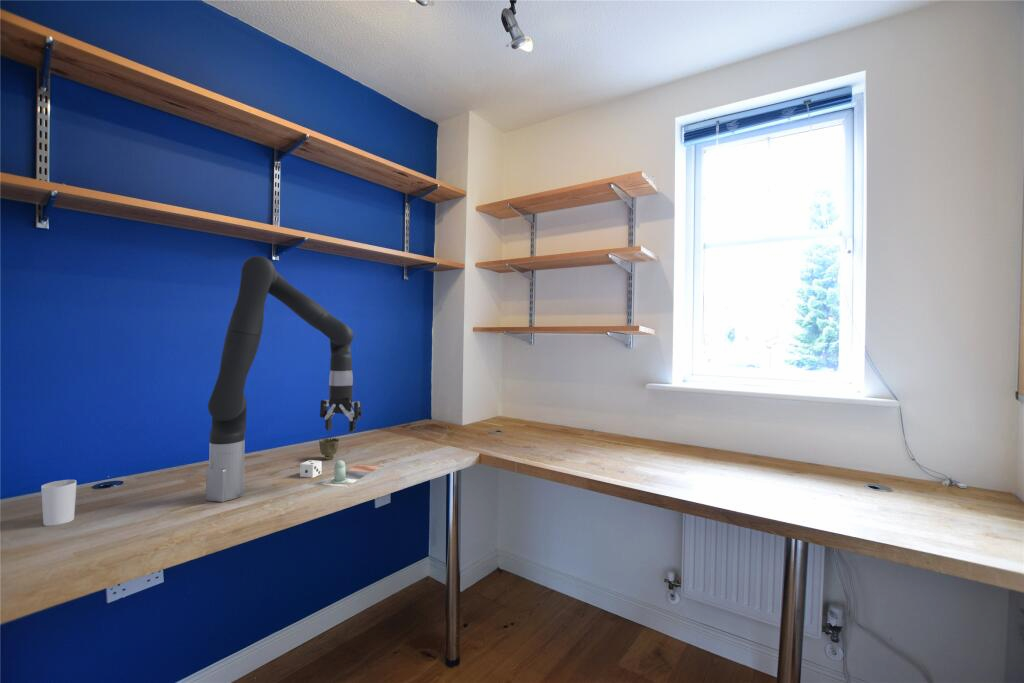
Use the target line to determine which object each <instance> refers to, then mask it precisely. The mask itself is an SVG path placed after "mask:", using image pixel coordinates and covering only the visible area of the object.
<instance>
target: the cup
mask: <svg viewBox="0 0 1024 683" xmlns="http://www.w3.org/2000/svg"><path fill="white" fill-rule="evenodd" d="M318 442H319V450H320V454H321V455H322V456H323V459H324V460H326V461H329V460H333V459H334V457H335V454H337V451H338V448H339V442H340V439H339V438H336V437H333V438H332V437H329V438H328V437H325V438H322V439H319V440H318Z"/></svg>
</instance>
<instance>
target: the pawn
mask: <svg viewBox="0 0 1024 683" xmlns="http://www.w3.org/2000/svg"><path fill="white" fill-rule="evenodd" d="M333 470H334V472H333V477H334V479H333V480H332V484H344V483H346V482H348V479H349V478H348V479H347V478H345V473H346V471H347V469H346V462H345V461H343V460H341V459H339V460H337V461H335V463H334V468H333Z"/></svg>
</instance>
